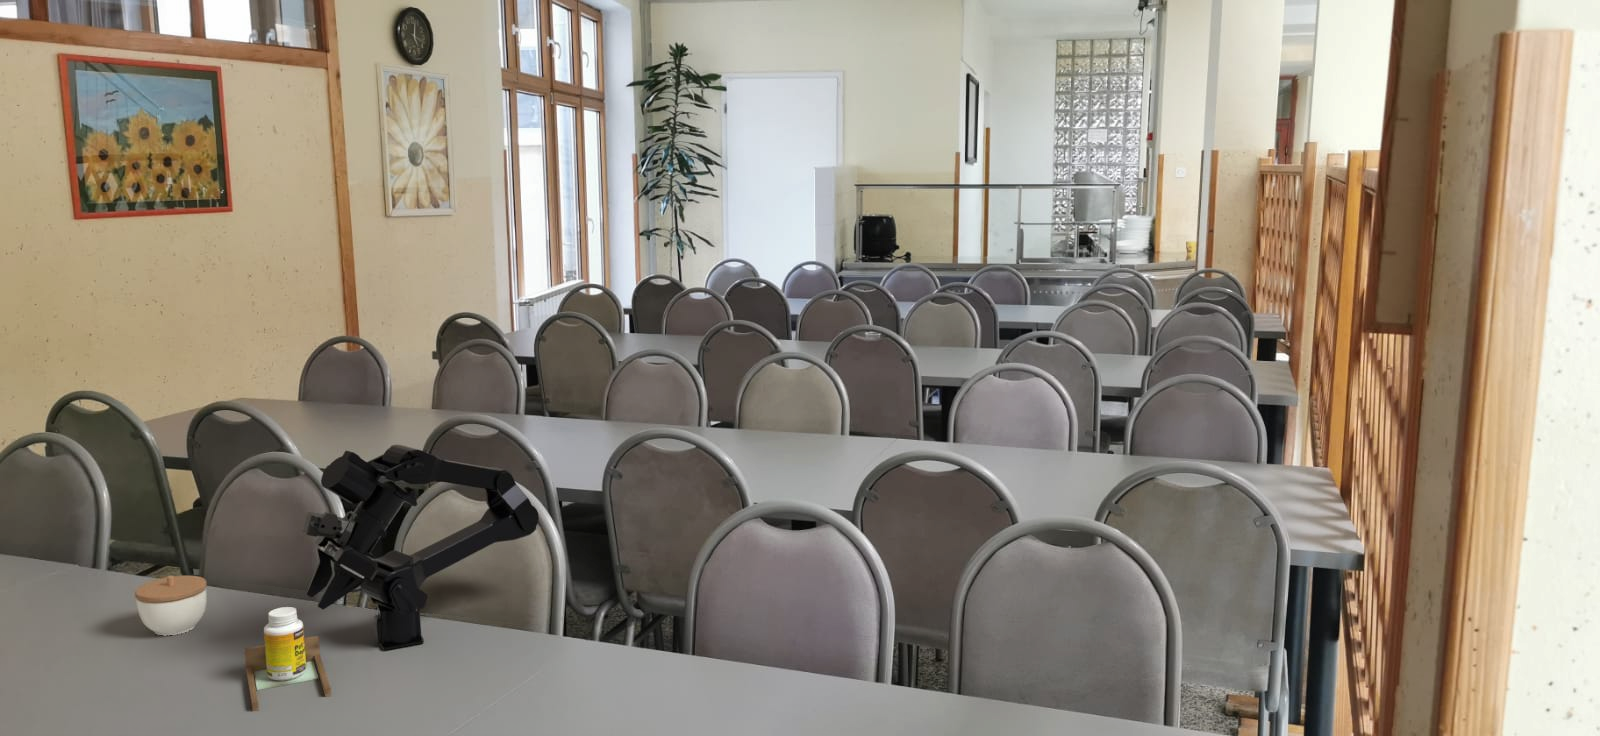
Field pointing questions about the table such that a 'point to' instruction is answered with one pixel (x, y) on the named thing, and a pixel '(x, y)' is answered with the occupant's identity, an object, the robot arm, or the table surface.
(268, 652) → the supplement bottle
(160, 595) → the lidded jar
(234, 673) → the table surface
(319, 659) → the bay
